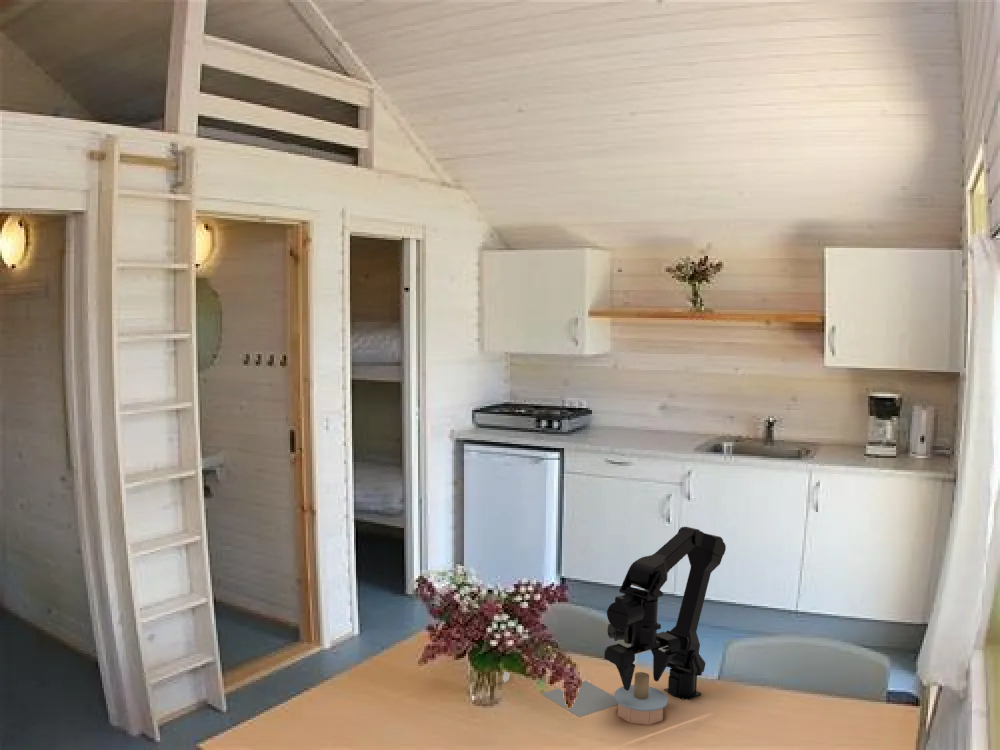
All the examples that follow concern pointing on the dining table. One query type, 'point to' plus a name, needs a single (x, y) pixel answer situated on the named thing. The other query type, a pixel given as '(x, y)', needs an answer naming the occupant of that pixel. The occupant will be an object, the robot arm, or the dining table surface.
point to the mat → (584, 699)
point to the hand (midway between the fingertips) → (641, 685)
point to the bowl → (640, 715)
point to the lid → (641, 695)
